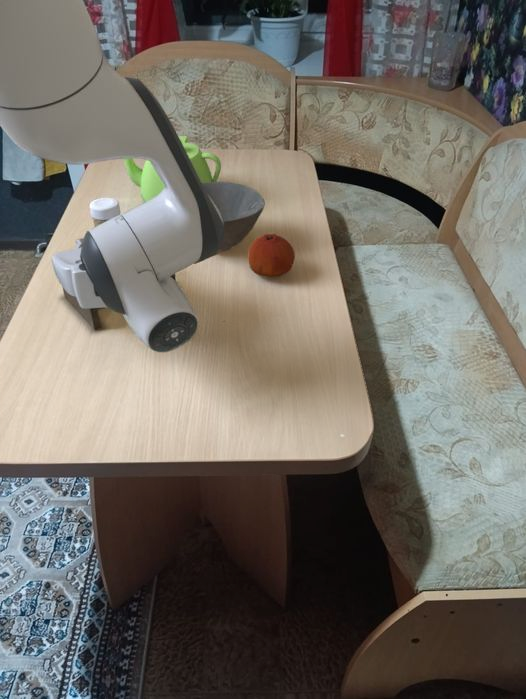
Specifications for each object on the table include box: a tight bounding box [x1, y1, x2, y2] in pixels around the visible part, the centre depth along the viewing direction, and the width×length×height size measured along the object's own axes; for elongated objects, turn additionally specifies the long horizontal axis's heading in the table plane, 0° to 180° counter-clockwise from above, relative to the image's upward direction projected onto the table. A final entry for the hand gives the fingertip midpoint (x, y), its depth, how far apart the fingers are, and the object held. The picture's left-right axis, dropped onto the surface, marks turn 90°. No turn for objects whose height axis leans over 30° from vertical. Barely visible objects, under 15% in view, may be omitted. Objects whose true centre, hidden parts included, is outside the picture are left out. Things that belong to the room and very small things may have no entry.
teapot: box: [123, 135, 222, 203], centre depth 124 cm, size 19×20×14 cm
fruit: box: [247, 233, 296, 279], centre depth 102 cm, size 9×9×8 cm
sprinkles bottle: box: [89, 197, 122, 227], centre depth 89 cm, size 5×5×13 cm
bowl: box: [202, 181, 266, 252], centre depth 110 cm, size 19×19×10 cm
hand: (107, 236), depth 90 cm, fingers open, 7 cm apart
